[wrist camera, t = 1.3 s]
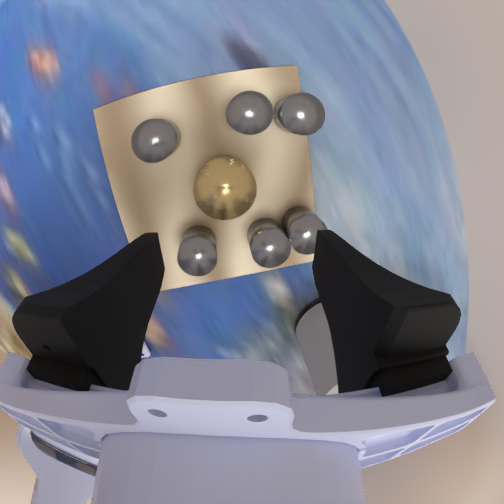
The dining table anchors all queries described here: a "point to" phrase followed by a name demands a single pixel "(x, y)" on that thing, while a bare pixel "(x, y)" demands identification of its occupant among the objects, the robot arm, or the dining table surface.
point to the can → (318, 350)
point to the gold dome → (224, 187)
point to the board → (191, 159)
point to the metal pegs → (264, 229)
